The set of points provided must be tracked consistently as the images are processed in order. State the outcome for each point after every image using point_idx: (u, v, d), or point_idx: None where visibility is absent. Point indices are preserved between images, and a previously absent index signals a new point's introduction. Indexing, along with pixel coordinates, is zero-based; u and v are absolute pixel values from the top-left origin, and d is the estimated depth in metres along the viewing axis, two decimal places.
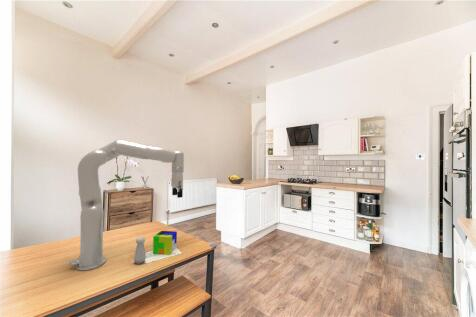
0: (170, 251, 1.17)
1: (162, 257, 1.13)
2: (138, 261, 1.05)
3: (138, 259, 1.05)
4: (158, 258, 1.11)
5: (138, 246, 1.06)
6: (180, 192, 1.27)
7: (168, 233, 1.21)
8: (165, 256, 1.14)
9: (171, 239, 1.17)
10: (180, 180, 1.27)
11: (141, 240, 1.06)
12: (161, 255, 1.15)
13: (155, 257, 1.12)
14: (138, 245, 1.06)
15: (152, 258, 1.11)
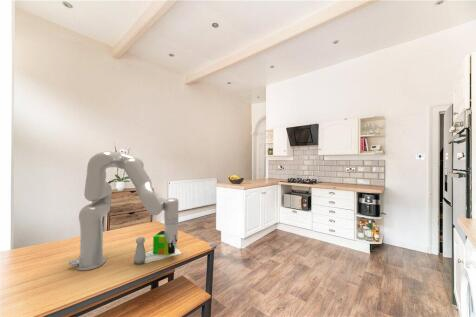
0: None
1: (162, 257, 1.13)
2: (138, 261, 1.05)
3: (138, 259, 1.05)
4: (158, 258, 1.11)
5: (138, 246, 1.06)
6: (172, 248, 1.12)
7: None
8: (165, 256, 1.14)
9: None
10: (174, 234, 1.09)
11: (141, 240, 1.06)
12: (161, 255, 1.15)
13: (155, 257, 1.12)
14: (138, 245, 1.06)
15: (152, 258, 1.11)
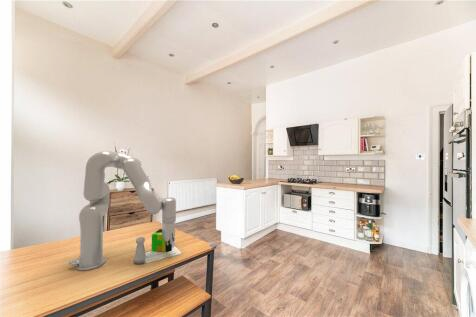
0: None
1: (162, 257, 1.13)
2: (138, 261, 1.05)
3: (138, 259, 1.05)
4: (158, 258, 1.11)
5: (138, 246, 1.06)
6: (169, 246, 1.15)
7: None
8: (165, 256, 1.14)
9: None
10: (171, 232, 1.12)
11: (141, 240, 1.06)
12: (161, 255, 1.15)
13: (155, 257, 1.12)
14: (138, 245, 1.06)
15: (152, 258, 1.11)
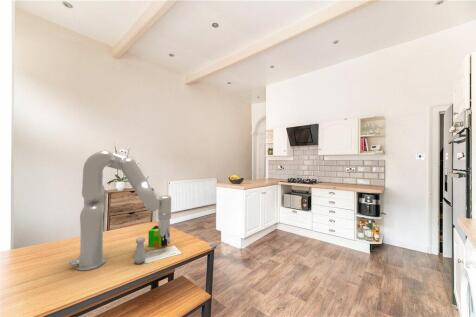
0: None
1: (162, 257, 1.13)
2: (138, 261, 1.05)
3: (138, 259, 1.05)
4: (158, 258, 1.11)
5: (138, 246, 1.06)
6: (164, 241, 1.22)
7: None
8: (165, 256, 1.14)
9: None
10: (167, 228, 1.19)
11: (141, 240, 1.06)
12: (161, 255, 1.15)
13: (155, 257, 1.12)
14: (138, 245, 1.06)
15: (152, 258, 1.11)
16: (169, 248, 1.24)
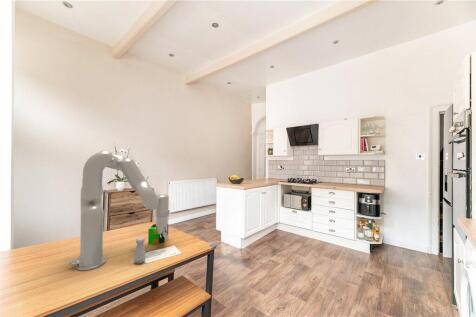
0: None
1: (162, 257, 1.13)
2: (138, 261, 1.05)
3: (138, 259, 1.05)
4: (158, 258, 1.11)
5: (138, 246, 1.06)
6: (162, 238, 1.26)
7: None
8: (165, 256, 1.14)
9: None
10: (164, 226, 1.23)
11: (141, 240, 1.06)
12: (161, 255, 1.15)
13: (155, 257, 1.12)
14: (138, 245, 1.06)
15: (152, 258, 1.11)
16: (169, 248, 1.24)
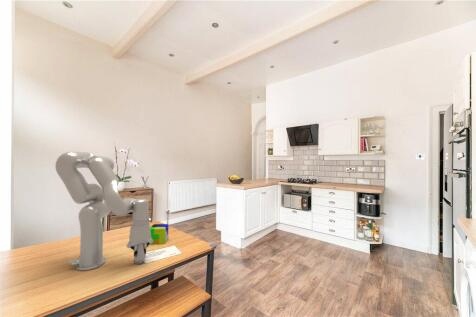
0: (164, 241, 1.32)
1: (162, 257, 1.13)
2: (138, 261, 1.05)
3: (138, 259, 1.05)
4: (158, 258, 1.11)
5: (138, 246, 1.06)
6: (134, 251, 1.06)
7: (162, 226, 1.36)
8: (165, 256, 1.14)
9: (165, 231, 1.33)
10: (130, 236, 1.04)
11: None
12: (161, 255, 1.15)
13: (155, 257, 1.12)
14: (138, 245, 1.06)
15: (152, 258, 1.11)
16: (169, 248, 1.24)
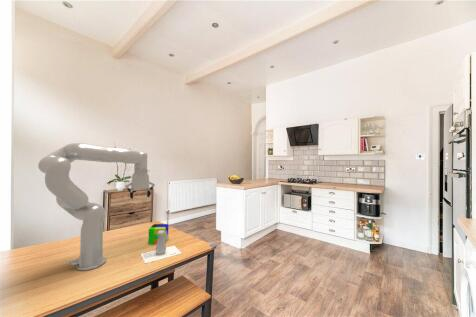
0: None
1: (162, 257, 1.13)
2: (159, 252, 1.15)
3: (160, 250, 1.15)
4: (158, 258, 1.11)
5: (159, 238, 1.16)
6: (130, 193, 1.26)
7: (162, 226, 1.36)
8: (165, 256, 1.14)
9: (165, 231, 1.33)
10: (132, 181, 1.26)
11: (162, 233, 1.16)
12: (161, 255, 1.15)
13: (155, 257, 1.12)
14: (159, 237, 1.16)
15: (152, 258, 1.11)
16: (169, 248, 1.24)
